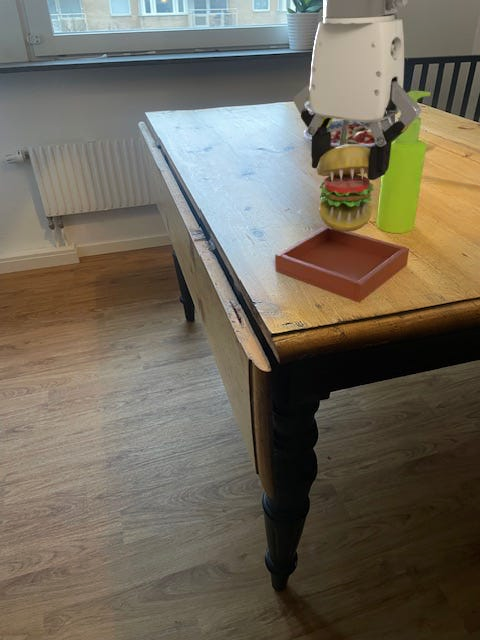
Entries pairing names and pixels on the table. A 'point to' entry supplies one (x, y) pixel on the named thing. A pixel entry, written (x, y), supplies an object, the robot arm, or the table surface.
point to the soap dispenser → (402, 178)
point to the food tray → (342, 262)
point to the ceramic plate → (360, 138)
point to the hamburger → (345, 187)
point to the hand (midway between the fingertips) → (347, 170)
